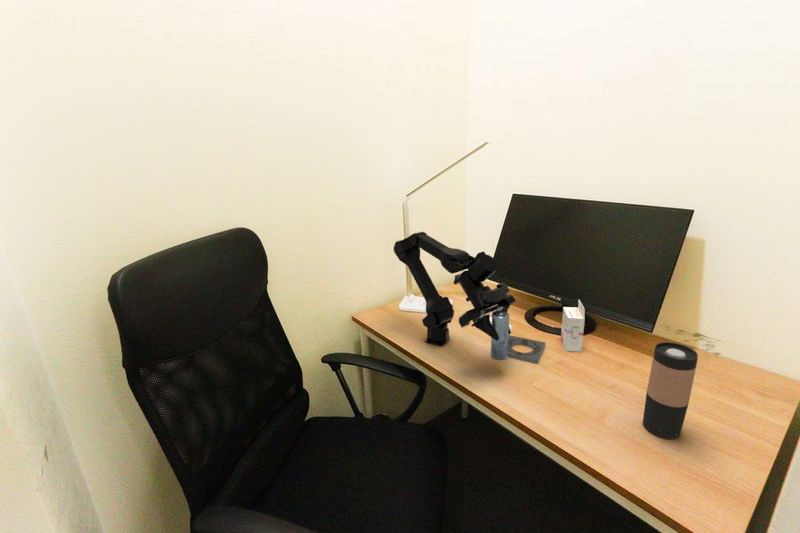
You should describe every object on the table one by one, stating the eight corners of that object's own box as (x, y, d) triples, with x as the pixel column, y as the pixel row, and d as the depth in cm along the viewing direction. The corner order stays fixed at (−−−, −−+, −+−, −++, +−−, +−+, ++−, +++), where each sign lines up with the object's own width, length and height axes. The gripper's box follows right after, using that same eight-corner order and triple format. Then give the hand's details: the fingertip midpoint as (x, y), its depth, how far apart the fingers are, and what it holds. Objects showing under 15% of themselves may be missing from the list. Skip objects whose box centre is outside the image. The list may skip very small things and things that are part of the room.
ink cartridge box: (559, 338, 127) (563, 297, 123) (575, 339, 126) (579, 298, 122) (565, 351, 119) (569, 308, 115) (581, 352, 118) (586, 309, 114)
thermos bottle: (488, 358, 107) (489, 314, 103) (493, 350, 111) (494, 308, 107) (504, 362, 105) (506, 317, 101) (509, 354, 108) (511, 310, 104)
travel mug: (633, 418, 89) (646, 343, 83) (664, 415, 90) (679, 340, 84) (657, 442, 82) (673, 361, 76) (690, 438, 83) (708, 358, 77)
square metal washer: (498, 354, 119) (498, 351, 119) (508, 338, 129) (508, 335, 129) (537, 363, 113) (537, 360, 113) (545, 345, 123) (545, 342, 123)
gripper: (466, 283, 99) (498, 336, 93) (512, 268, 109) (543, 315, 104) (446, 302, 107) (474, 352, 102) (490, 286, 117) (518, 331, 112)
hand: (503, 337), depth 105 cm, fingers closed on thermos bottle, 5 cm apart
